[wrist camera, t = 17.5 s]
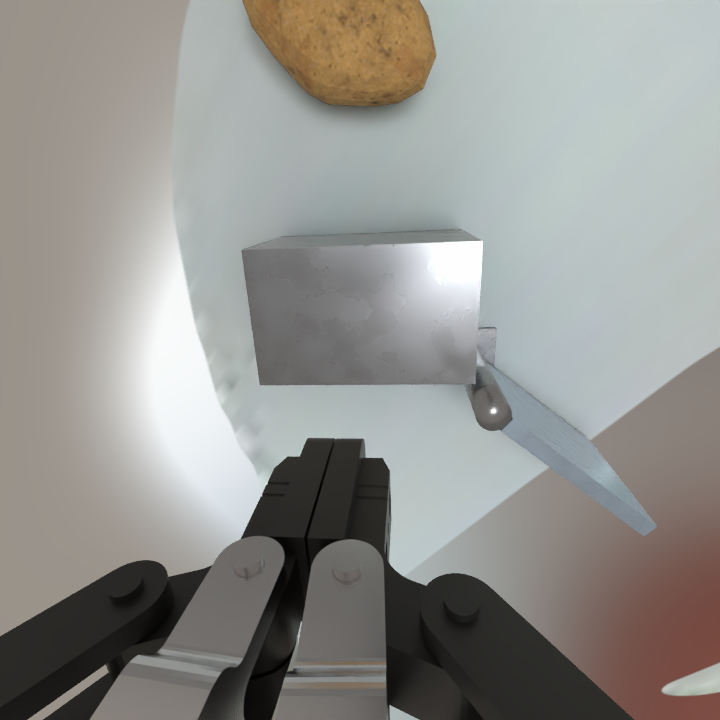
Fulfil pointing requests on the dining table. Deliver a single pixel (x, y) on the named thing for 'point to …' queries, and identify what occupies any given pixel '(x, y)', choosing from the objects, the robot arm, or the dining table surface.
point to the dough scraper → (551, 442)
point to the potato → (349, 46)
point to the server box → (367, 308)
